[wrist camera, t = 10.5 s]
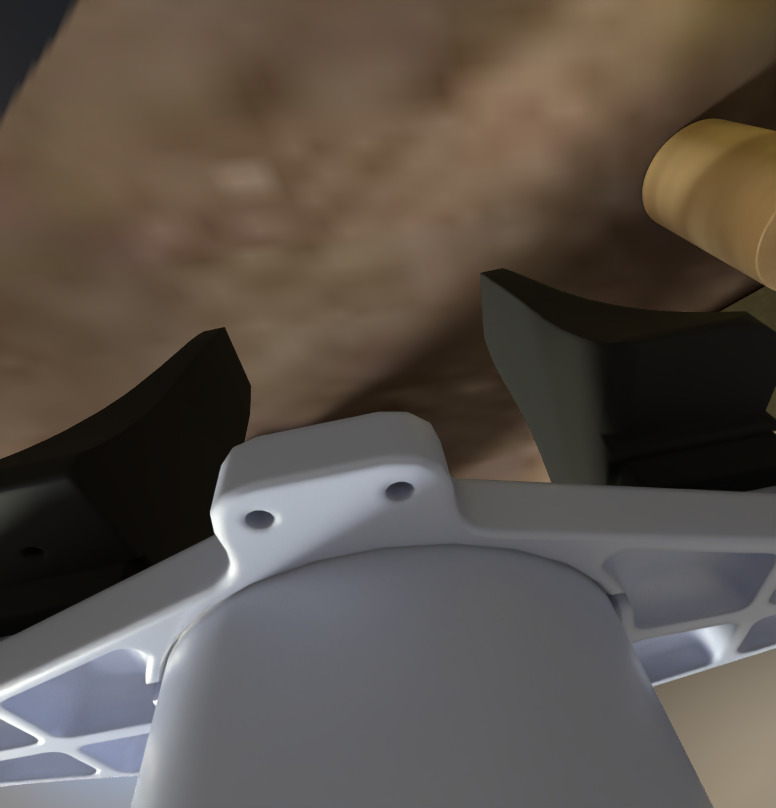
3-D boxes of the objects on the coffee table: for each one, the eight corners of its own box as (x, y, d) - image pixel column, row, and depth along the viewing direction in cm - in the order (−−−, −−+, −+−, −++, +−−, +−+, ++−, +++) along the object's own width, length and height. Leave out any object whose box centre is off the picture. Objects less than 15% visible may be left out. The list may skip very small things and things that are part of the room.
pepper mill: (728, 215, 23) (891, 290, 17) (634, 235, 24) (759, 317, 17) (756, 107, 21) (967, 145, 14) (650, 130, 21) (807, 179, 14)
